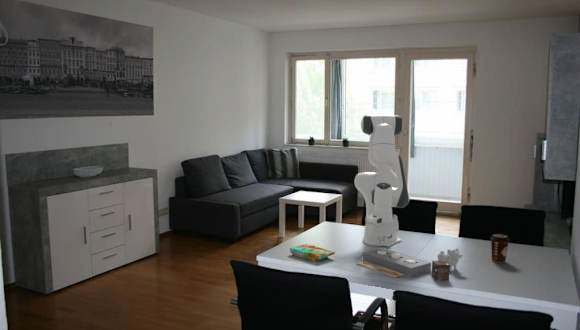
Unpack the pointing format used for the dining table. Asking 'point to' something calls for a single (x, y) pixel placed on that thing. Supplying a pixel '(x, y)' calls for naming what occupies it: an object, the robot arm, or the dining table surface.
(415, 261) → the button
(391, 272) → the pattern card
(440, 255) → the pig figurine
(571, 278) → the dining table surface
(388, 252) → the console
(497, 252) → the coffee cup
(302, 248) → the puzzle game
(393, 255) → the button
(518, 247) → the dining table surface
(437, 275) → the box
